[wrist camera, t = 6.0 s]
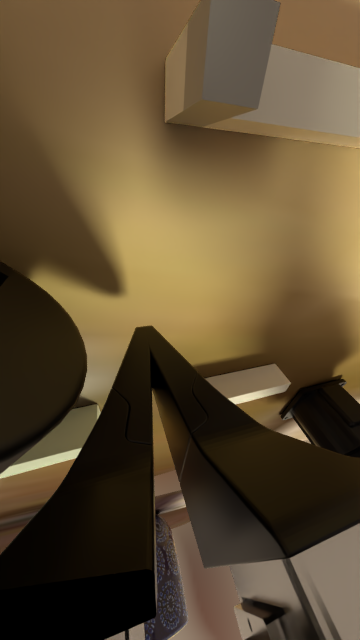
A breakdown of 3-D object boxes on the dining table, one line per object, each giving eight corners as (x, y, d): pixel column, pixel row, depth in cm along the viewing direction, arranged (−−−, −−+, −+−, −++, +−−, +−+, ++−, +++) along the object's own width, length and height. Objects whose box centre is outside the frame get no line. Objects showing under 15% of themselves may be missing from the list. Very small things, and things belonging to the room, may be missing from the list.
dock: (270, 372, 18) (295, 405, 16) (161, 396, 15) (171, 439, 13) (414, 113, 8) (548, 93, 5) (165, 59, 5) (212, -21, 3)
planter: (131, 511, 37) (141, 663, 26) (183, 504, 47) (206, 610, 36) (74, 543, 41) (62, 688, 30) (134, 530, 51) (142, 634, 40)
